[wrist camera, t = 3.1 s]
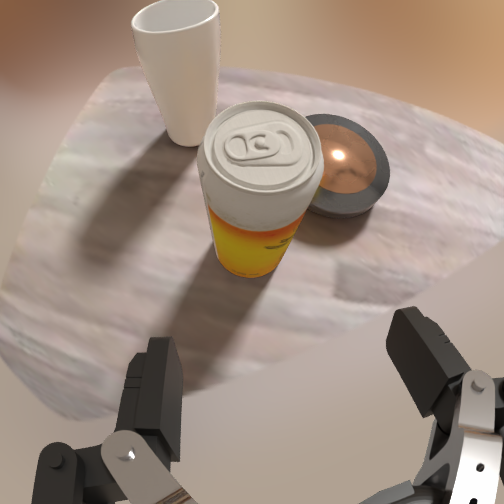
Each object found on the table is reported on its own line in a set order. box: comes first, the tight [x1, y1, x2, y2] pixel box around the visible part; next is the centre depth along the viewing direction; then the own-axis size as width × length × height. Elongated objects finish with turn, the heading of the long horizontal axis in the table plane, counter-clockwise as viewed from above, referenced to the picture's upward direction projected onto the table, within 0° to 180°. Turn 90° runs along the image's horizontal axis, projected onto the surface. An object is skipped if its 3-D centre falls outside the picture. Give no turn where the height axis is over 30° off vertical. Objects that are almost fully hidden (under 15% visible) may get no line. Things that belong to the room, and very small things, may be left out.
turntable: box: [305, 114, 390, 218], centre depth 28 cm, size 11×11×2 cm
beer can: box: [197, 101, 324, 278], centre depth 20 cm, size 6×6×15 cm
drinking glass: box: [131, 0, 221, 147], centre depth 24 cm, size 7×7×15 cm
